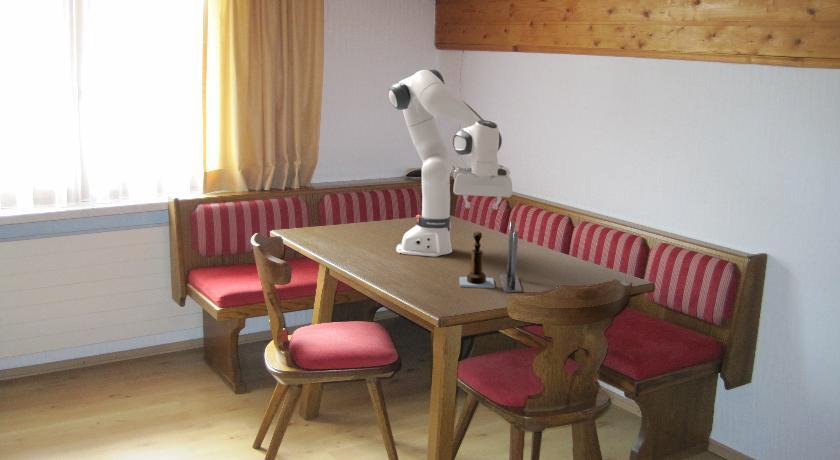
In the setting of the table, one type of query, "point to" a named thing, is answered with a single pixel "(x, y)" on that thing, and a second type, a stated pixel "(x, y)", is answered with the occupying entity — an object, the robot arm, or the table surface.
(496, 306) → the table surface
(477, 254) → the wooden turned spindle
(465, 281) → the mat
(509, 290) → the retort stand
